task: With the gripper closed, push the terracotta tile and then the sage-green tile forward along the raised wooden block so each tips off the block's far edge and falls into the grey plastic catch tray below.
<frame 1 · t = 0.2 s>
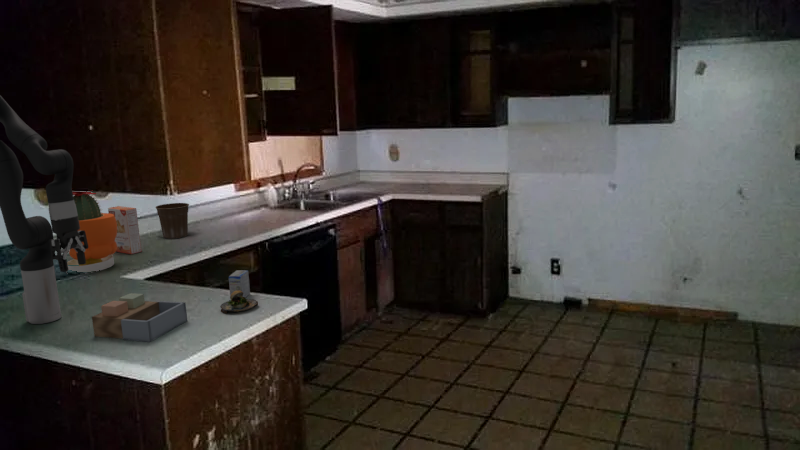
hand: (73, 267, 201), 18 cm above the worktop, tool pointing down, fingers open, 8 cm apart
plant pot: (175, 236, 335), on the worktop
medicine box: (240, 298, 225), on the worktop
cracker box: (127, 252, 304), on the worktop
tray: (156, 330, 195), on the worktop
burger: (239, 309, 213), on the worktop
potted cactus: (96, 267, 277), on the worktop
tile sage: (132, 305, 200), point 6 cm above the worktop, touching wooden block
tile terracotta: (115, 313, 193), point 6 cm above the worktop, touching wooden block
wooden block: (128, 328, 198), on the worktop
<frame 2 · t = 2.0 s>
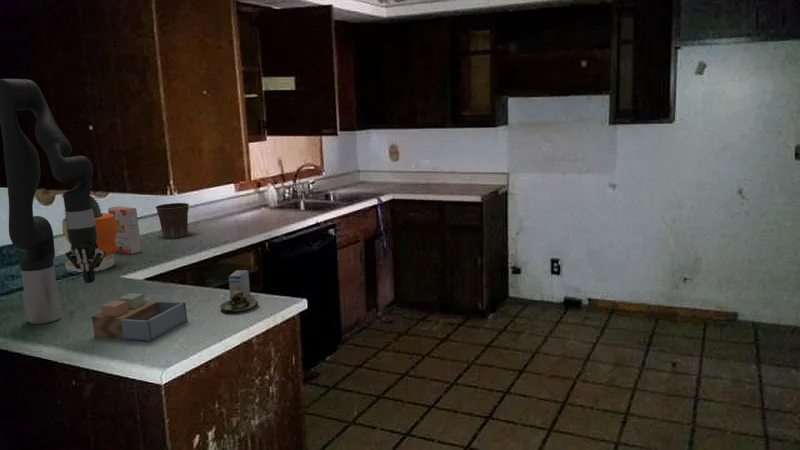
hand: (90, 282, 194), 15 cm above the worktop, tool pointing down, fingers closed
nothing on the worktop moved.
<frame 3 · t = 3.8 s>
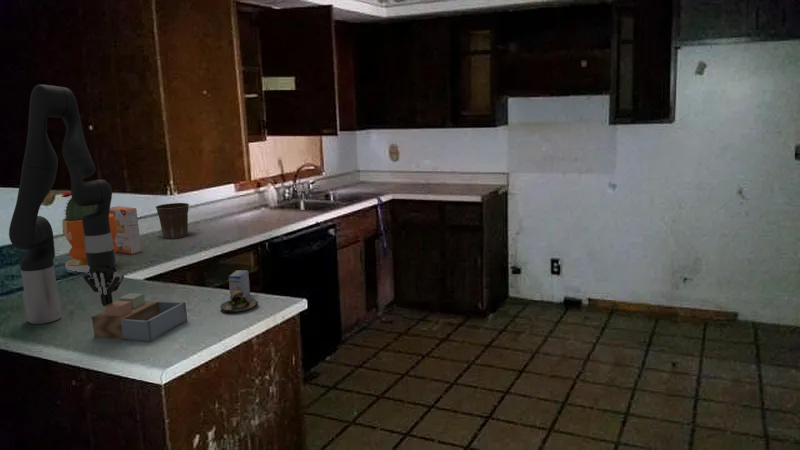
hand: (107, 305, 194), 8 cm above the worktop, tool pointing down, fingers closed
tile terracotta: (119, 313, 193), point 6 cm above the worktop, touching gripper
everything else where it was.
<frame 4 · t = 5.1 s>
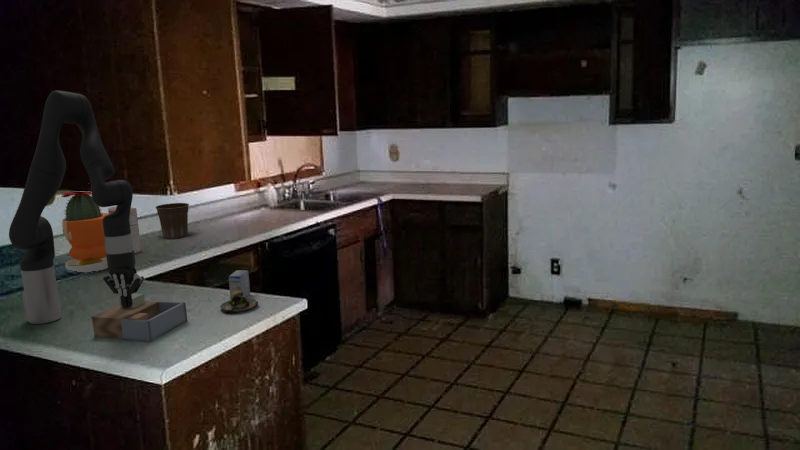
hand: (127, 307, 192), 8 cm above the worktop, tool pointing down, fingers closed
tile terracotta: (134, 323, 192), point 3 cm above the worktop, tilted 90°, touching tray
everything else where it was.
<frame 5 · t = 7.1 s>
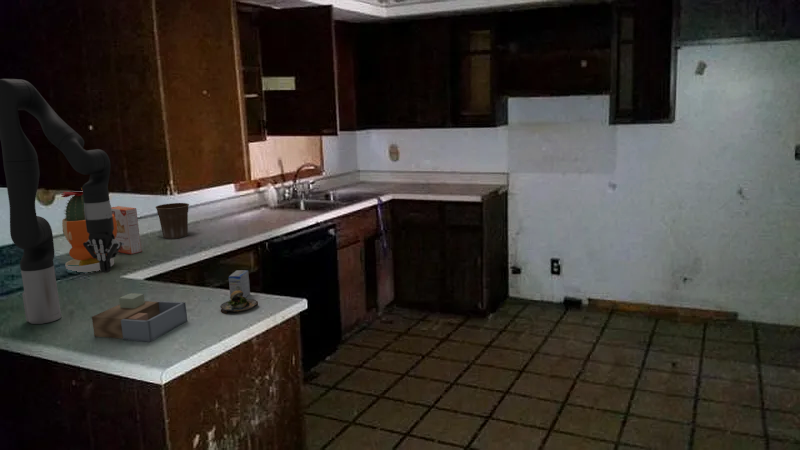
hand: (106, 271, 201), 16 cm above the worktop, tool pointing down, fingers closed
nothing on the worktop moved.
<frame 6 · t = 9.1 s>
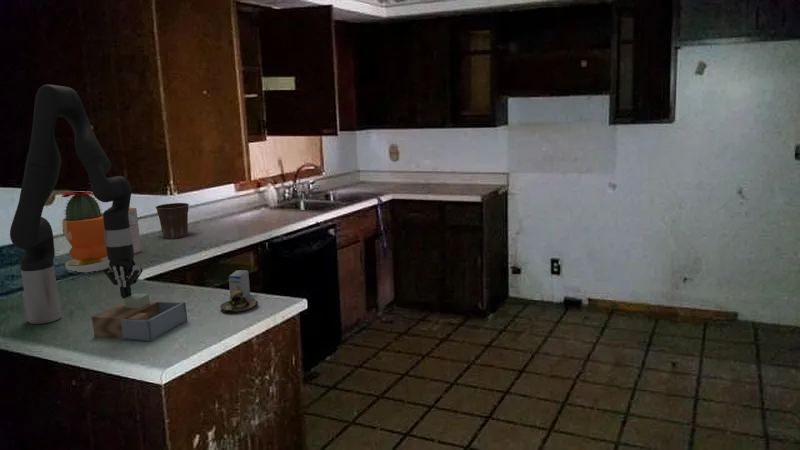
hand: (126, 298, 201), 8 cm above the worktop, tool pointing down, fingers closed
tile sage: (137, 305, 200), point 6 cm above the worktop
everything else where it was.
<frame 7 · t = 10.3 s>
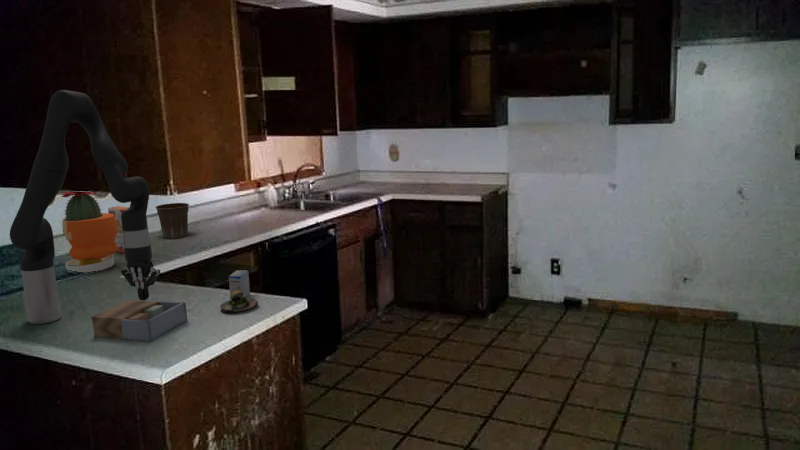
hand: (144, 299, 199), 8 cm above the worktop, tool pointing down, fingers closed
tile sage: (150, 315, 199), point 3 cm above the worktop, tilted 90°, touching tray
everything else where it was.
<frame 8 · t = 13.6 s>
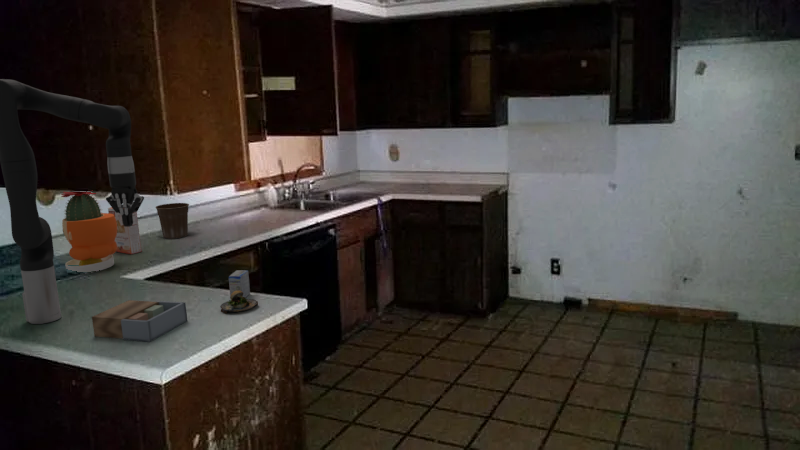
hand: (128, 226, 205), 29 cm above the worktop, tool pointing down, fingers closed
nothing on the worktop moved.
at the end: tile terracotta inside the target area on the tray (5.6 cm from its centre), point 3.1 cm above the tray's base; tile sage inside the target area on the tray (5.5 cm from its centre), point 3.1 cm above the tray's base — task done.
